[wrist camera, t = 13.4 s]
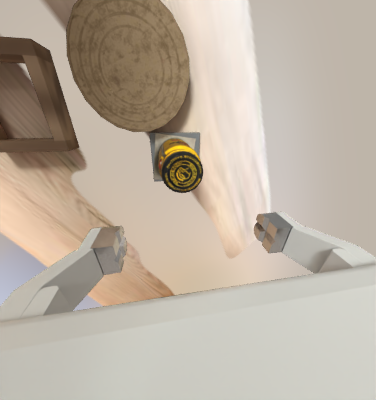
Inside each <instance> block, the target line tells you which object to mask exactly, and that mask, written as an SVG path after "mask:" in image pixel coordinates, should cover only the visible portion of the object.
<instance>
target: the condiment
mask: <svg viewBox="0 0 376 400" xmlns="http://www.w3.org/2000/svg"><path fill="white" fill-rule="evenodd" d="M195 141H196V139H195V138H188V137H181V136H173V135H166V134H158V133H155V157H154V179H160V180H163V181H164V183H165V184H166V186H167V187H168V188H169V189H171V190H172V191H175V192H179V193H186V192H190V191H191V190H193V189H195V188H196V187H197V186H198V185H199V183H200V182H201V180H202V176H203V168H202V164H201V161H200V158H199V156H198V154H197V153H196V152H195V150H194V147H195Z"/></svg>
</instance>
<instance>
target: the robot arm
mask: <svg viewBox="0 0 376 400" xmlns="http://www.w3.org/2000/svg"><path fill="white" fill-rule="evenodd" d="M256 220H257V223H256V224H255V226H254V234H255V236H256V238H257V239H258V240H259V241H261V242H262V245H263V247H264V248H265V249H266V251H268V253H277V252H282V253H283V254H285V255H286V256H288V257H289V258H291V259H293V260H294V261H296V262H297V263H299V264H300V265H302V266H304V267H305V268H307V269H308V270H310V271H311V272H313V273H314V274H309V275H303V276H297V277H291V278H284V279H277V280H271V281H265V282H258V283H252V284H246V285H239V286H232V287H227V288H219V289H213V290H207V291H200V292H194V293H187V294H181V295H174V296H168V297H161V298H155V299H148V300H142V301H135V302H129V303H122V304H116V305H109V306H103V307H97V308H90V309H84V310H77V311H73V310H74V309H75V307H76V306H77V305H78V304H79V303H80V302H81V301H82V300H83V298H84V297H85V296H86V295H87V294H88V293H89V292H90V291H91V290H92V288H93V287H94V286H95V285H96V284H97V283H98V282H99V281H100V279H101V278H102V277H103V276H104V275H106V274H113V273H119V272H121V271H122V267H123V263H124V260H123V257H124V256H125V255H126V251H127V242H126V238H125V237H124V236H123V234H124V230H123V227H122V226H115V227H103V228H102V227H101V228H92V229H91V230H90V231H89V233H88V234H87V236H86V238H85V239H84V241H83V242H82V244H81V246H80V247H79V249H78V250H75V251H73V252H71V253H70V254H68V255H67V256H65V257H64V258H62V259H61V260H59V261H58V262H56V263H55V264H53V265H52V266H50V267H49V268H47V269H46V270H44V271H43V272H41V273H40V274H38V275H37V276H35V277H33V278H32V279H30V280H29V281H28V282H26V283H25V284H23V285H21V286H20V287H18V288H17V289H15V290H14V291H13V292H12V293H11V295H10V296H9V297H8V298H7V299H6V300H5V302H4V303H3V304H2V305H1V306H0V400H376V258H375V257H374V256H373V255H371V254H369V253H368V252H366V251H365V250H363V249H362V248H360V247H359V246H357V245H354V244H352V243H349V242H346V241H344V240H341V239H338V238H335V237H333V236H330V235H327V234H325V233H321V232H319V231H316V230H314V229H311V228H308V227H305V226H301V225H300V224H298V223H297V222H296V221H295V220H293V219H292V218H291V217H289V216H288V215H287V214H286V213H284V212H274V213H264V214H258V216H257V218H256Z"/></svg>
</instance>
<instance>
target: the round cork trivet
mask: <svg viewBox="0 0 376 400" xmlns="http://www.w3.org/2000/svg"><path fill="white" fill-rule="evenodd" d="M66 39H67V57H68V61H69V64H70V68H71V71H72V74H73V78H74V81H75V82H76V84H77V86H78V88H79V89H80V91H81V93H82V95H83V96H84V98H85V100H86V101H87V102H88V103H89V104H90V105H91V107H92V108H93V109H94V110H95V111H96V112H97V113H98V114H99V115H100V116H101V117H103V118H104V119H106V120H107V121H109V122H110V123H112V124H114V125H115V126H117V127H119V128H122V129H126V130H129V131H132V132H147V131H152V130H155V129H157V128H160V127H162V126H164V125H165V124H167V123H168V122H169V121H170V120H171V119H172V118H173V117H174V116H176V114H177V113H178V111H179V109H180V107H181V106H182V104H183V102H184V100H185V97H186V93H187V89H188V85H189V56H188V52H187V48H186V44H185V41H184V37H183V34H182V32H181V30H180V28H179V26H178V25H177V23H176V21H175V19H174V17H173V15H172V13H171V12H170V11H169V10H168V8H167V7H166V6H165V5H164V4H163V3H162V2H161V1H160V0H78V1H77V2H76V3H75V4H74V6H73V8H72V12H71V15H70V19H69V22H68V25H67V29H66Z"/></svg>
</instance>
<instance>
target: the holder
mask: <svg viewBox="0 0 376 400" xmlns="http://www.w3.org/2000/svg"><path fill="white" fill-rule="evenodd" d="M0 62H8V63H25V64H26V66H27V69H28V72H29V75H30V77H31V80H32V83H33V85H34V88H35V91H36V93H37V96H38V99H39V101H40V104H41V107H42V109H43V112H44V115H45V117H46V120H47V123H48V126H49V128H50V131H51V134H52V136H53V138H29V139H8V138H7V136H6V134H5V132H4V130H3V128H2V126H1V124H0V152H42V151H70V150H73V149H76V148H79V144H78V141H77V138H76V135H75V132H74V128H73V125H72V122H71V118H70V116H69V112H68V109H67V105H66V102H65V99H64V96H63V92H62V89H61V86H60V83H59V80H58V76H57V73H56V70H55V66H54V63H53V60H52V56H51V54H50V50H48V49H46V48H45V47H43V46H41V45H40V44H38V43H36V42H35V41H33V40H32V39H25V38H11V37H0Z"/></svg>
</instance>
